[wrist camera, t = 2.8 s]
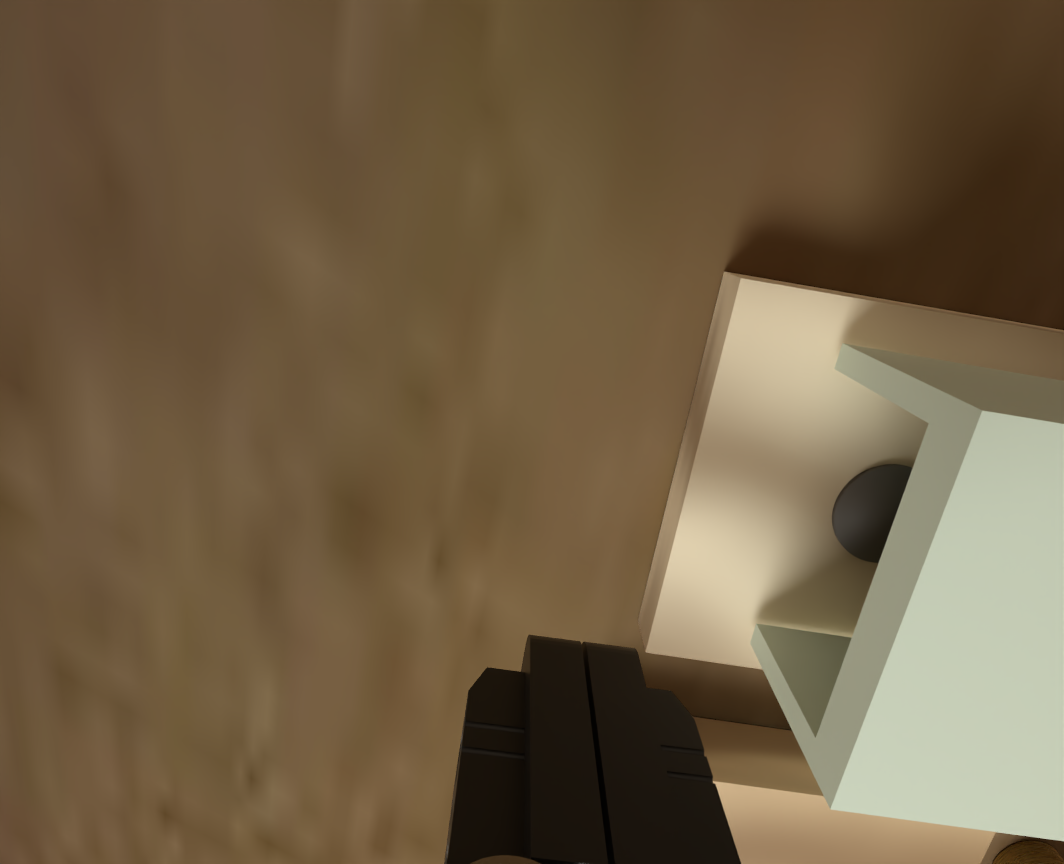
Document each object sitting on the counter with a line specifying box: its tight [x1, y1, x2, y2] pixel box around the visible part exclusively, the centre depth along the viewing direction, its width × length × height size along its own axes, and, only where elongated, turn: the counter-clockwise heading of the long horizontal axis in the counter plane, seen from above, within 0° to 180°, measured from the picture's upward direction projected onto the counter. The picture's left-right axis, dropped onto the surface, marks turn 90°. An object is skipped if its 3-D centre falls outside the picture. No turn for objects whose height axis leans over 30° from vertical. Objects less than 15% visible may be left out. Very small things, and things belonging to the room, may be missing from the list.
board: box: [638, 272, 1064, 669], centre depth 17 cm, size 10×15×4 cm, turn 80°
